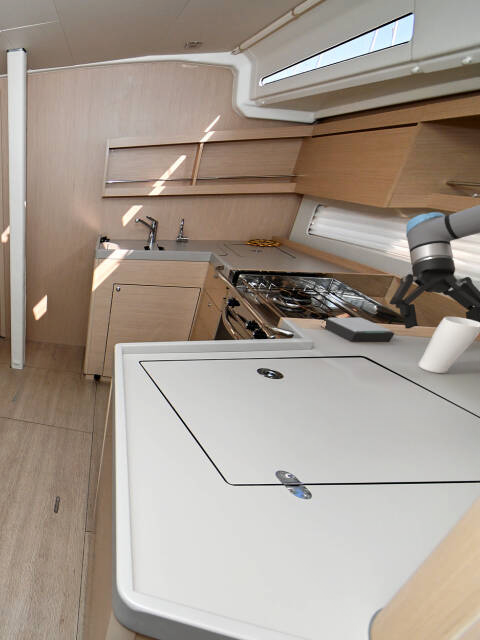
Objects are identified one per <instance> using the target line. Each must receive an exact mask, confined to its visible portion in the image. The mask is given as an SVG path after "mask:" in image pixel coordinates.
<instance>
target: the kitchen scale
mask: <svg viewBox="0 0 480 640" xmlns="http://www.w3.org/2000/svg"><path fill="white" fill-rule="evenodd" d="M323 320H324V321H326V326H325V330H327V331H328V332H330V333H332V334H334V335H336V336H339V337H340V338H342V339H344V340H346V341H348V342H350V343H364V342H365V343H390V342H391V340H392V338H393V337H394V336H395V332H393V331H392V330H391V329H389V328H386V327H385V326H382V325H379V324H377V323H375V322H372V321H370V320H368V319H366V318H363V317H327V318H323Z"/></svg>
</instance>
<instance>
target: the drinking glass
mask: <svg viewBox="0 0 480 640" xmlns="http://www.w3.org/2000/svg"><path fill="white" fill-rule="evenodd" d="M479 334H480V323H479V322H477V321H474V320H470V319H467V318H466V317H458V316H444V317H443V318H442V319H441V320H440V322H439V323H438V325H437V327H436V328H435V330H434V332H433V333H432V336H431V338H430V340H429V342H428V344H427V346H426V348H425V350H424V353H423V354H422V357H421V358H420V360H419V361H418V363H417V366H418V367H419V368H420V369H422V370H424V371H427V372H431V373H435V374H445V373H447V372H448V371H449V370H450V368H451V367H452V366H453V364H454V363H455V362H456V361H457V360H458V359H459V358H460V357H461V356H462V354H463V353H464V352H465V351H466V349H468V347H470V346H471V344H472V343H473V342H474V341H475V339H476V338H478V335H479Z"/></svg>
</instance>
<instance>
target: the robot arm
mask: <svg viewBox="0 0 480 640" xmlns="http://www.w3.org/2000/svg"><path fill="white" fill-rule="evenodd" d="M405 227H406V233H405V235H406V239H407V244H408V245H407V246H408V249H409V250H408V251H409V258H410V262H411V263H410V265H411V270H412V273H408V274H406V275H404V276H402V277H401V278H400V284H399V286H398V287H397V289H396V290H395V293H394V294H393V296H391V299H390V300H389V305H393V306H394V305H395V306H394V307H395V308H396V309H399V315H400V316H401V317H402V318H403V323H404V328H405V329H406V330H407V329H408V330H409V329H412V328H414V327H417V326H418V319H417V313H416V306H415V304H414V303H412V302H413V301H414V300H416V299H417V298H418V297H419V296H421V295H422V294H423V293H424V292H426V293H436V294H443V295H444V296H448V297H450V298H451V299H453V300H454V301H455V302H456V303H458V304H459V305H460V306H462V307H463V308H464V309H466V310H467V311H466V312H465V319H470V320H474V321H477V322H479V323H480V290H479V288H478V287H476V285H475V284H473V281H472V278H471V277H470V276H465V277H463V278H457V277H456V276H455V272H456V267H455V261H454V255H453V254H454V253H453V250H452V244H451V242H452V241H455V240H456V241H457V240H460V239H462V238H465V237H466V238H467V237H470V236H474V235H477V234H480V204H478V205H474V206H472V207H469V208H466V209H463V210H459V211H456V212H454V213H451V214H447V215H445V214H444V213H442V212H439V211H438V212H437V211H435V212H429V213H422V214H419V215H416V216H415V217H412V218H411V219H410V220H409V221H408V222H407V223H406V225H405ZM413 283H414V284H416V285H417V287H416V288H414V289H413V290H412V291H411V292H410V293H409V294H408V295H407V296H406V294H407V293H408V291H409V289H410V288H411V286H412V285H413Z"/></svg>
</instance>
